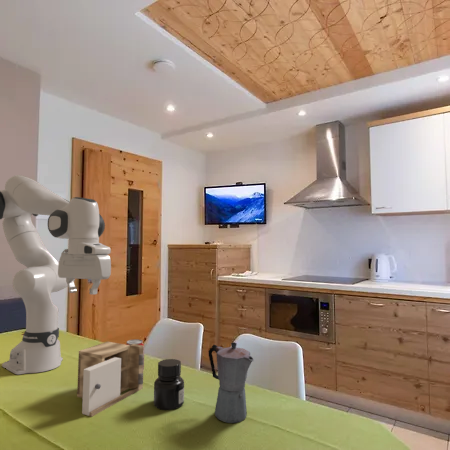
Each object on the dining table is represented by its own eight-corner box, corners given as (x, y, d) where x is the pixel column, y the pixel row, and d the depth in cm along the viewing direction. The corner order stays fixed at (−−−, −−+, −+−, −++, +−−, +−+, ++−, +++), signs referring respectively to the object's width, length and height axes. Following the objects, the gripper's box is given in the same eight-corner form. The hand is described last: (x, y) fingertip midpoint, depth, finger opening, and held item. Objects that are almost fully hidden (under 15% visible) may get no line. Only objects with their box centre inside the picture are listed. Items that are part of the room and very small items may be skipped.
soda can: (138, 379, 118) (139, 344, 119) (120, 377, 119) (120, 343, 120) (146, 372, 125) (147, 339, 126) (129, 370, 126) (130, 338, 127)
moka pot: (245, 431, 85) (245, 350, 86) (196, 415, 93) (197, 341, 94) (261, 415, 93) (261, 341, 94) (215, 401, 101) (216, 334, 102)
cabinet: (56, 406, 97) (58, 357, 98) (110, 381, 116) (112, 340, 117) (95, 418, 91) (96, 365, 92) (145, 389, 109) (146, 346, 110)
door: (82, 413, 93) (83, 369, 94) (114, 396, 104) (115, 357, 104) (90, 416, 91) (92, 371, 92) (122, 399, 102) (123, 358, 103)
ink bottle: (188, 407, 97) (189, 365, 98) (158, 414, 93) (159, 370, 94) (177, 394, 106) (178, 355, 107) (150, 400, 102) (150, 359, 103)
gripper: (53, 248, 107) (51, 292, 106) (98, 248, 97) (97, 296, 96) (70, 248, 112) (69, 290, 111) (114, 248, 103) (114, 293, 101)
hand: (82, 293), depth 103 cm, fingers open, 8 cm apart
